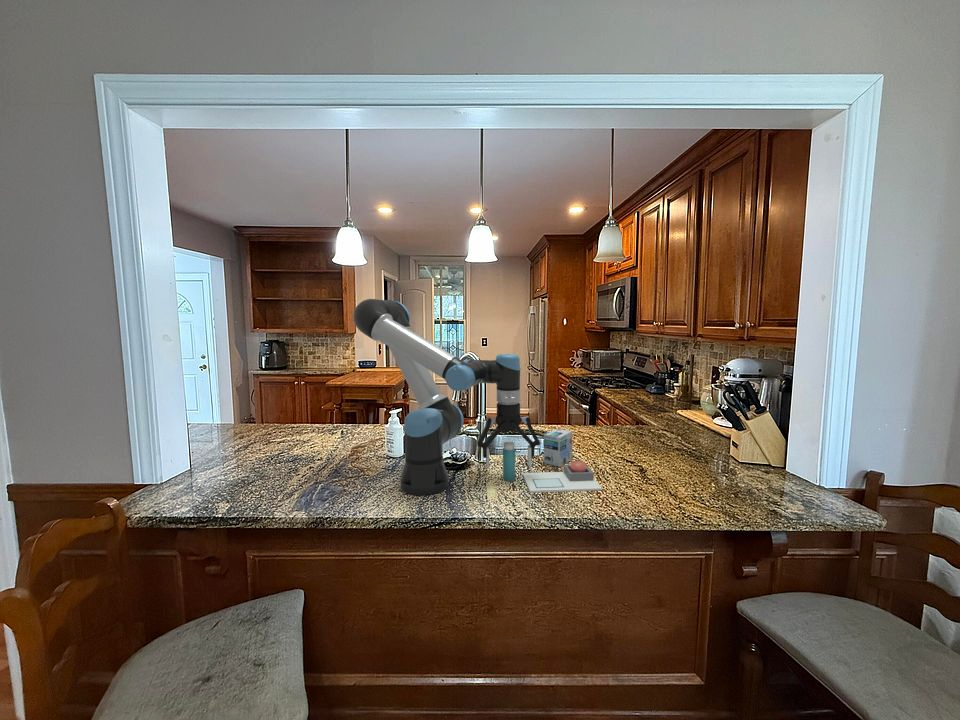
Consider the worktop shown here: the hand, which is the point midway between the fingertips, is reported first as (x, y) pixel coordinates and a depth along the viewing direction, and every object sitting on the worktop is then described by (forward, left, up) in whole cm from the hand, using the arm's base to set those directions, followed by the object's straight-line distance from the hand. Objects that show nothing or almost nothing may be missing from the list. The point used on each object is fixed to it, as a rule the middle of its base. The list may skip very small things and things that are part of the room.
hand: (508, 466), depth 129 cm
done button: (+23, -1, -2) cm, 23 cm away
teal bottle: (0, 0, -4) cm, 4 cm away
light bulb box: (+20, +15, -4) cm, 25 cm away
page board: (+16, -4, -4) cm, 17 cm away
